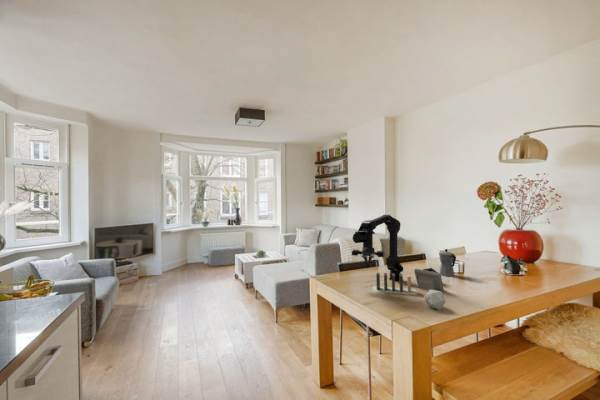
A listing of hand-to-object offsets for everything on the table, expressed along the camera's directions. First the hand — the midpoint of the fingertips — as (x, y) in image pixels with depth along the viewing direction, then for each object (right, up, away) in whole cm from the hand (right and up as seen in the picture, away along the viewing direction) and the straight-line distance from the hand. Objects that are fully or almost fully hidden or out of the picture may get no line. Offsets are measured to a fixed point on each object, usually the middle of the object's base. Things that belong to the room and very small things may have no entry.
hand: (368, 267), depth 165 cm
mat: (+13, -12, -6) cm, 19 cm away
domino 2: (+9, -12, -4) cm, 16 cm away
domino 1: (+5, -12, -3) cm, 13 cm away
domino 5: (+22, -12, -8) cm, 26 cm away
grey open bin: (+41, -12, +10) cm, 44 cm away
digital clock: (+36, -12, -3) cm, 38 cm away
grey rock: (+25, -12, -31) cm, 42 cm away
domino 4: (+18, -12, -7) cm, 22 cm away
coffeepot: (+61, -12, +24) cm, 67 cm away
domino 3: (+13, -12, -6) cm, 19 cm away
